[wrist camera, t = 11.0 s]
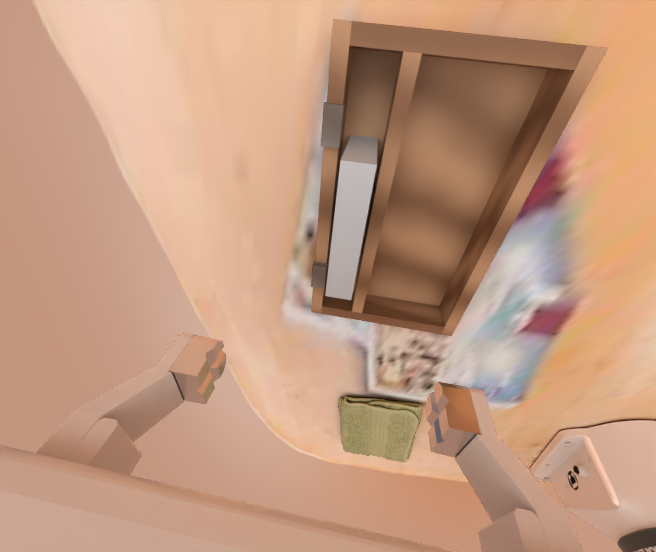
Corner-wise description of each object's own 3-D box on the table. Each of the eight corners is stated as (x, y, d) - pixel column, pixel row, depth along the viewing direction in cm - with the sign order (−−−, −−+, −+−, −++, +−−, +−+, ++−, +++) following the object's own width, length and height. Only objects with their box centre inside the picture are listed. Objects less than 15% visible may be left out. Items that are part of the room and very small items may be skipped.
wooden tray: (443, 306, 31) (452, 340, 27) (317, 285, 32) (309, 315, 28) (564, 51, 17) (616, 47, 14) (340, 27, 18) (329, 17, 14)
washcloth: (424, 397, 42) (426, 418, 40) (409, 448, 53) (411, 467, 50) (337, 387, 44) (335, 407, 42) (340, 438, 55) (338, 457, 52)
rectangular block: (357, 251, 27) (351, 300, 21) (336, 248, 27) (325, 295, 21) (378, 138, 21) (377, 165, 15) (351, 134, 21) (340, 160, 15)
